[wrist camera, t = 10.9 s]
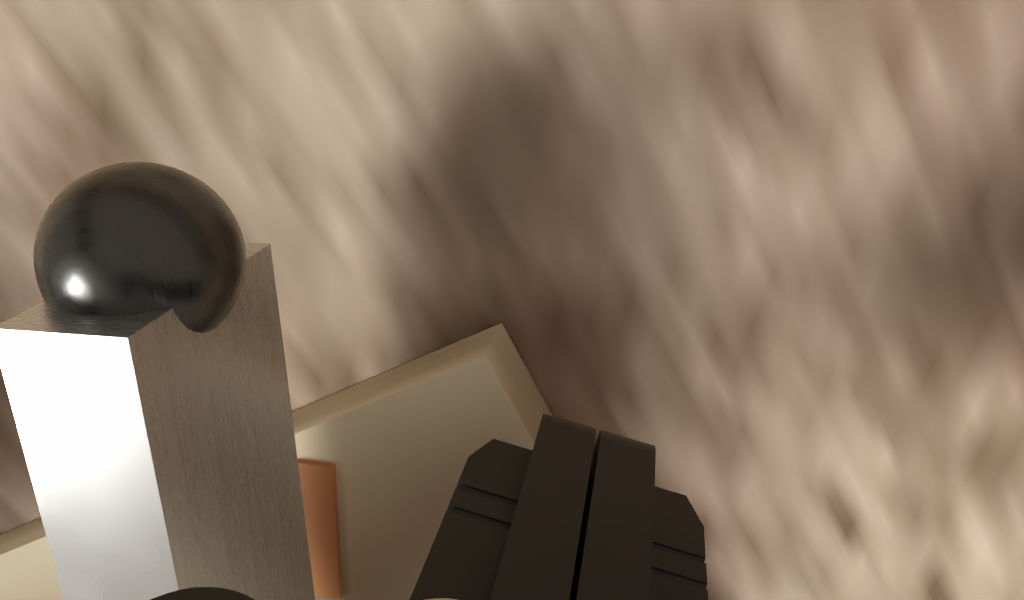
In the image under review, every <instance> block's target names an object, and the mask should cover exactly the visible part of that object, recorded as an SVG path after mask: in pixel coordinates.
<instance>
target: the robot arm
mask: <svg viewBox="0 0 1024 600" xmlns="http://www.w3.org/2000/svg"><path fill="white" fill-rule="evenodd" d="M595 436H596V429H594V428H591V427H588V426H584V425H581V424H577V423H574V422H571V421H567V420H564V419H560V418H557V417H554V416H550V415H547V414H544V413H543V415H542V419H541V422H540V426H539V429H538V433H537V437H536V440H535V444H534V447H533V450H530V449H526V448H523V447H520V446H516V445H513V444H510V443H506V442H503V441H500V440H496V439H492V440H491V441H489V442H488V443H487V444H485V445H484V446H482V447H481V448H480V449H478V450H477V451H475V452H474V453H473V454H471V455H470V456H469V457H468V459H467V461H466V464H465V466H464V469H463V471H462V474H461V476H460V479H459V481H458V484H457V487H456V488H455V491H454V493H453V496H452V498H451V500H450V503H449V506H448V509H447V510H446V513H445V515H444V517H443V520H442V522H441V525H440V527H439V530H438V532H437V534H436V537H435V539H434V542H433V544H432V547H431V549H430V551H429V554H428V556H427V559H426V561H425V564H424V566H423V568H422V571H421V573H420V576H419V578H418V581H417V583H416V585H415V588H414V590H413V593H412V595H411V597H410V599H409V600H708V592H707V590H706V585H707V574H706V563H704V561H705V558H706V557H705V540H704V526H703V525H702V523H701V521H700V519H699V518H698V516H697V514H696V512H695V511H694V509H693V507H692V505H691V504H690V502H689V500H688V498H687V497H686V496H685V495H681V494H678V493H675V492H671V491H668V490H665V489H661V488H658V487H655V486H654V484H655V453H656V452H655V446H653V445H650V444H646V443H643V442H639V441H636V440H633V439H629V438H626V437H622V436H619V435H616V434H612V433H609V432H605V431H602V430H600V432H599V434H598V436H597V439H596V442H595ZM594 442H595V445H594ZM150 600H255V599H253V598H251V597H249V596H248V595H245V594H242V593H240V592H237V591H234V590H229V589H225V588H217V587H193V588H187V589H181V590H177V591H174V592H170V593H167V594H164V595H161V596H158V597H156V598H153V599H150Z"/></svg>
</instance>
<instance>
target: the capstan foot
mask: <svg viewBox="0 0 1024 600" xmlns="http://www.w3.org/2000/svg"><path fill="white" fill-rule="evenodd" d="M33 256H34V269H35V274H36V280H37V283H38V286H39V289H40V292H41V294H42V296H43V298H44V300H45V301H43V302H41V303H39V304H37V305H35V306H33V307H31V308H29V309H27V310H25V311H23V312H21V313H19V314H17V315H15V316H13V317H11V318H9V319H8V320H6V321H4V322H2V323H0V366H1V370H2V374H3V378H4V381H5V385H6V389H7V393H8V396H9V400H10V404H11V407H12V411H13V415H14V419H15V422H16V426H17V430H18V433H19V437H20V441H21V445H22V448H23V452H24V456H25V460H26V463H27V467H28V471H29V474H30V478H31V482H32V486H33V489H34V493H35V497H36V500H37V504H38V508H39V512H40V515H41V519H42V523H43V527H44V530H45V534H46V538H47V541H48V545H49V549H50V553H51V556H52V560H53V564H54V567H55V571H56V575H57V579H58V582H59V586H60V590H61V593H62V597H63V600H150V599H153V598H156V597H158V596H161V595H164V594H167V593H170V592H174V591H177V590H181V589H187V588H193V587H217V588H225V589H229V590H234V591H237V592H240V593H242V594H245V595H248V596H249V597H251V598H253V599H255V600H315V593H314V585H313V577H312V570H311V562H310V554H309V546H308V538H307V530H306V522H305V514H304V506H303V499H302V491H301V483H300V475H299V467H298V459H297V451H296V443H295V436H294V428H293V420H292V412H291V404H290V396H289V388H288V380H287V373H286V365H285V357H284V349H283V341H282V333H281V325H280V317H279V309H278V302H277V294H276V286H275V278H274V270H273V262H272V254H271V246H270V244H263V243H244V239H243V236H242V233H241V230H240V227H239V225H238V223H237V221H236V219H235V217H234V215H233V214H232V212H231V210H230V209H229V207H228V206H227V205H226V203H225V202H224V201H223V200H222V199H221V197H220V196H219V195H218V194H217V193H216V192H215V191H214V190H212V189H211V188H210V187H209V186H208V185H206V184H205V183H203V182H202V181H200V180H199V179H197V178H195V177H193V176H192V175H190V174H188V173H186V172H184V171H181V170H178V169H176V168H173V167H169V166H165V165H161V164H156V163H147V162H130V163H120V164H115V165H110V166H106V167H103V168H100V169H97V170H95V171H92V172H90V173H88V174H86V175H84V176H82V177H81V178H79V179H77V180H76V181H74V182H73V183H72V184H70V185H69V186H68V187H67V188H66V189H64V190H63V191H62V192H61V193H60V194H59V195H58V197H57V198H56V199H55V200H54V201H53V202H52V204H51V205H50V206H49V208H48V210H47V211H46V213H45V215H44V217H43V219H42V221H41V223H40V225H39V228H38V231H37V235H36V240H35V245H34V255H33Z"/></svg>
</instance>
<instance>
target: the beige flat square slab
mask: <svg viewBox="0 0 1024 600" xmlns="http://www.w3.org/2000/svg"><path fill="white" fill-rule="evenodd" d="M543 413H544V414H547V415H550V416H553V415H552V414H551V412H550V410H549V408H548V406H547V404H546V403H545V401H544V399H543V397H542V395H541V393H540V392H539V390H538V388H537V386H536V384H535V382H534V381H533V379H532V377H531V375H530V373H529V371H528V370H527V368H526V366H525V364H524V362H523V360H522V359H521V357H520V355H519V353H518V351H517V349H516V348H515V346H514V344H513V342H512V340H511V338H510V337H509V335H508V333H507V331H506V329H505V327H504V326H503V324H502V323H500V324H497V325H495V326H493V327H490V328H488V329H486V330H483V331H481V332H479V333H476V334H474V335H471V336H469V337H467V338H464V339H462V340H460V341H457V342H455V343H453V344H450V345H448V346H445V347H443V348H441V349H438V350H436V351H434V352H431V353H429V354H427V355H424V356H422V357H419V358H417V359H415V360H412V361H410V362H408V363H405V364H403V365H401V366H398V367H396V368H393V369H391V370H389V371H386V372H384V373H382V374H379V375H377V376H374V377H372V378H370V379H367V380H365V381H363V382H360V383H358V384H356V385H353V386H351V387H348V388H346V389H344V390H341V391H339V392H337V393H334V394H332V395H330V396H327V397H325V398H322V399H320V400H318V401H315V402H313V403H311V404H308V405H306V406H304V407H301V408H299V409H296V410H294V411H292V420H293V428H294V436H295V443H296V451H297V459H298V467H299V475H300V483H301V491H302V499H303V506H304V514H305V522H306V530H307V538H308V546H309V554H310V562H311V570H312V577H313V585H314V593H315V600H409V599H410V597H411V595H412V593H413V590H414V588H415V585H416V583H417V581H418V578H419V576H420V573H421V571H422V568H423V566H424V564H425V561H426V559H427V556H428V554H429V551H430V549H431V547H432V544H433V542H434V539H435V537H436V534H437V532H438V530H439V527H440V525H441V522H442V520H443V517H444V515H445V513H446V510H447V509H448V506H449V503H450V500H451V498H452V496H453V493H454V491H455V488H456V487H457V484H458V481H459V479H460V476H461V474H462V471H463V469H464V466H465V464H466V461H467V459H468V457H469V456H470V455H471V454H473V453H474V452H475V451H477V450H478V449H480V448H481V447H482V446H484V445H485V444H487V443H488V442H489V441H491V440H492V439H496V440H500V441H503V442H506V443H510V444H513V445H516V446H520V447H523V448H526V449H530V450H533V447H534V444H535V440H536V437H537V433H538V429H539V426H540V422H541V419H542V415H543ZM0 600H63V597H62V593H61V590H60V586H59V582H58V579H57V575H56V571H55V567H54V564H53V560H52V556H51V553H50V549H49V545H48V541H47V538H46V534H45V530H44V527H43V523H42V519H41V518H39V519H36V520H34V521H31V522H29V523H27V524H24V525H22V526H20V527H17V528H15V529H13V530H10V531H8V532H5V533H3V534H1V535H0Z"/></svg>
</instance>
